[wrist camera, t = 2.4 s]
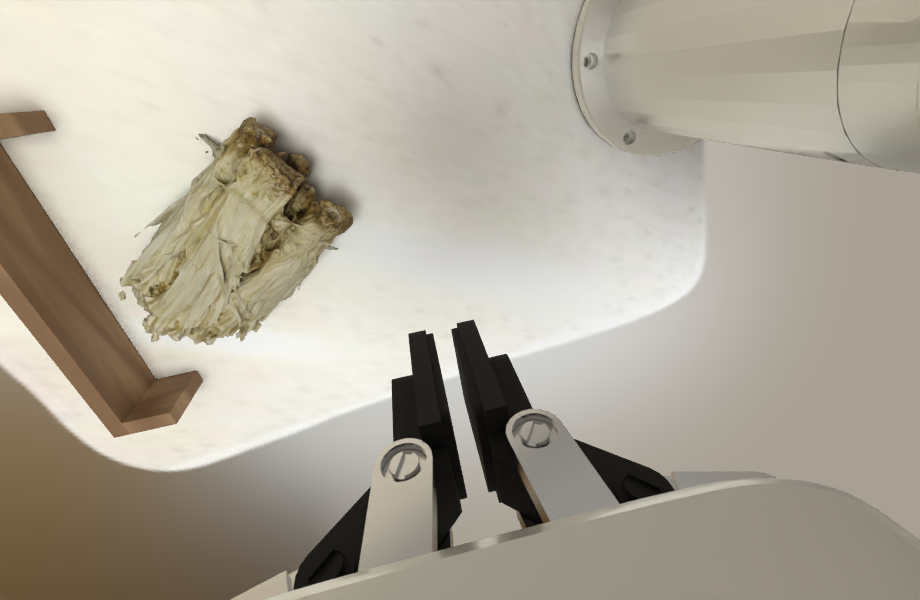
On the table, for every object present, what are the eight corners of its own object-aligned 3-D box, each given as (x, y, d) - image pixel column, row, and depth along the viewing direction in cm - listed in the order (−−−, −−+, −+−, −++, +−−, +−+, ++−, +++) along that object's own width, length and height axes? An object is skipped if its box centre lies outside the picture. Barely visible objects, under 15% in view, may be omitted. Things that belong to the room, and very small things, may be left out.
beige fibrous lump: (237, 90, 23) (199, 90, 18) (369, 204, 27) (367, 229, 23) (107, 265, 26) (47, 304, 22) (244, 344, 30) (218, 391, 26)
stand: (44, 110, 22) (-31, 115, 18) (202, 381, 31) (176, 423, 27) (-36, 123, 21) (-130, 131, 18) (148, 392, 31) (114, 437, 27)
